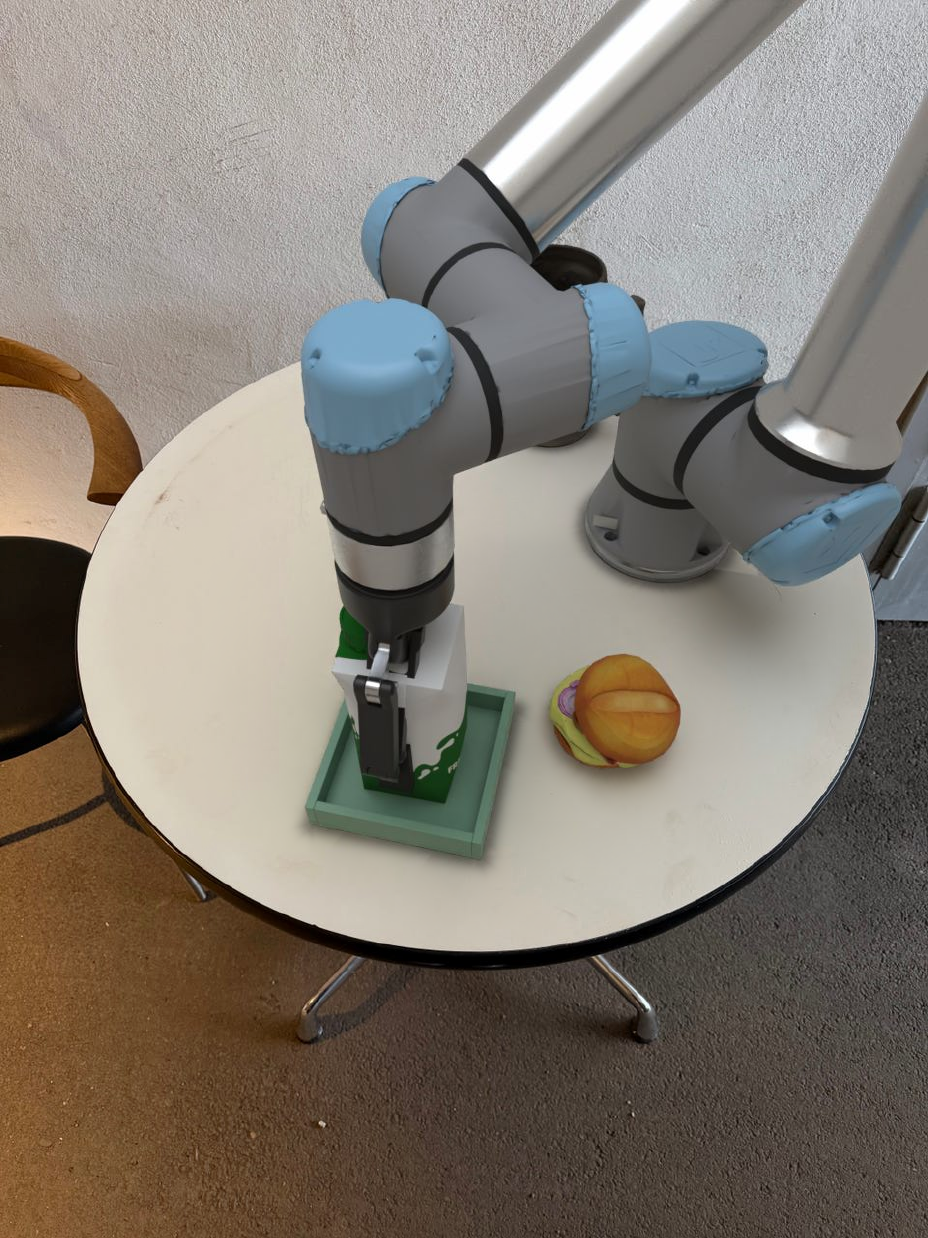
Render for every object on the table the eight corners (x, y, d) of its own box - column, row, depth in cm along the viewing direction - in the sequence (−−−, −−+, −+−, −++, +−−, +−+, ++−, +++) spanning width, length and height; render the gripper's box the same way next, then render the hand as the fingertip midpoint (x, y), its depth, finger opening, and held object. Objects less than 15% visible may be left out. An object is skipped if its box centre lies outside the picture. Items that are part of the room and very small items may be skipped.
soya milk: (377, 710, 78) (352, 562, 62) (475, 727, 76) (475, 580, 61) (350, 797, 72) (315, 659, 56) (455, 816, 71) (449, 681, 55)
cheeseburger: (601, 657, 81) (636, 608, 73) (677, 745, 78) (722, 705, 70) (521, 713, 77) (547, 669, 69) (597, 809, 74) (635, 774, 66)
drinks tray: (514, 710, 78) (515, 691, 76) (481, 860, 69) (481, 844, 67) (361, 681, 80) (357, 662, 78) (309, 824, 71) (304, 807, 69)
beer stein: (489, 439, 101) (505, 285, 85) (506, 384, 108) (524, 231, 92) (617, 464, 100) (659, 312, 84) (627, 407, 106) (667, 256, 90)
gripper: (383, 431, 60) (402, 627, 78) (275, 679, 47) (328, 847, 65) (488, 446, 59) (483, 641, 77) (407, 704, 46) (424, 867, 64)
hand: (412, 735), depth 71 cm, fingers closed on soya milk, 9 cm apart
